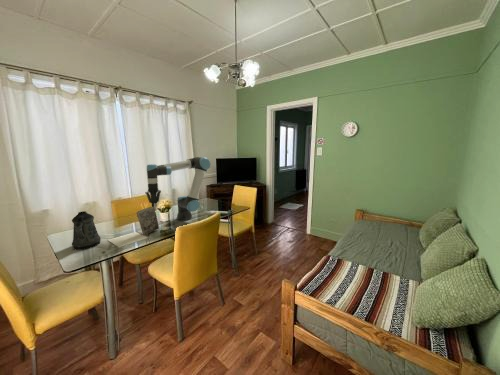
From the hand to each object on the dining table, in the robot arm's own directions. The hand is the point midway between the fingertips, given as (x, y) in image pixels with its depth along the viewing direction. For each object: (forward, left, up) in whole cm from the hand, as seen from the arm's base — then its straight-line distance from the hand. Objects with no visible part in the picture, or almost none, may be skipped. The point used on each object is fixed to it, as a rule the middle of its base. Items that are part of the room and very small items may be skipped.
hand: (154, 210), depth 177 cm
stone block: (+4, 0, -17) cm, 18 cm away
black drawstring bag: (+45, -12, -18) cm, 50 cm away
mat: (+22, 0, -18) cm, 29 cm away
